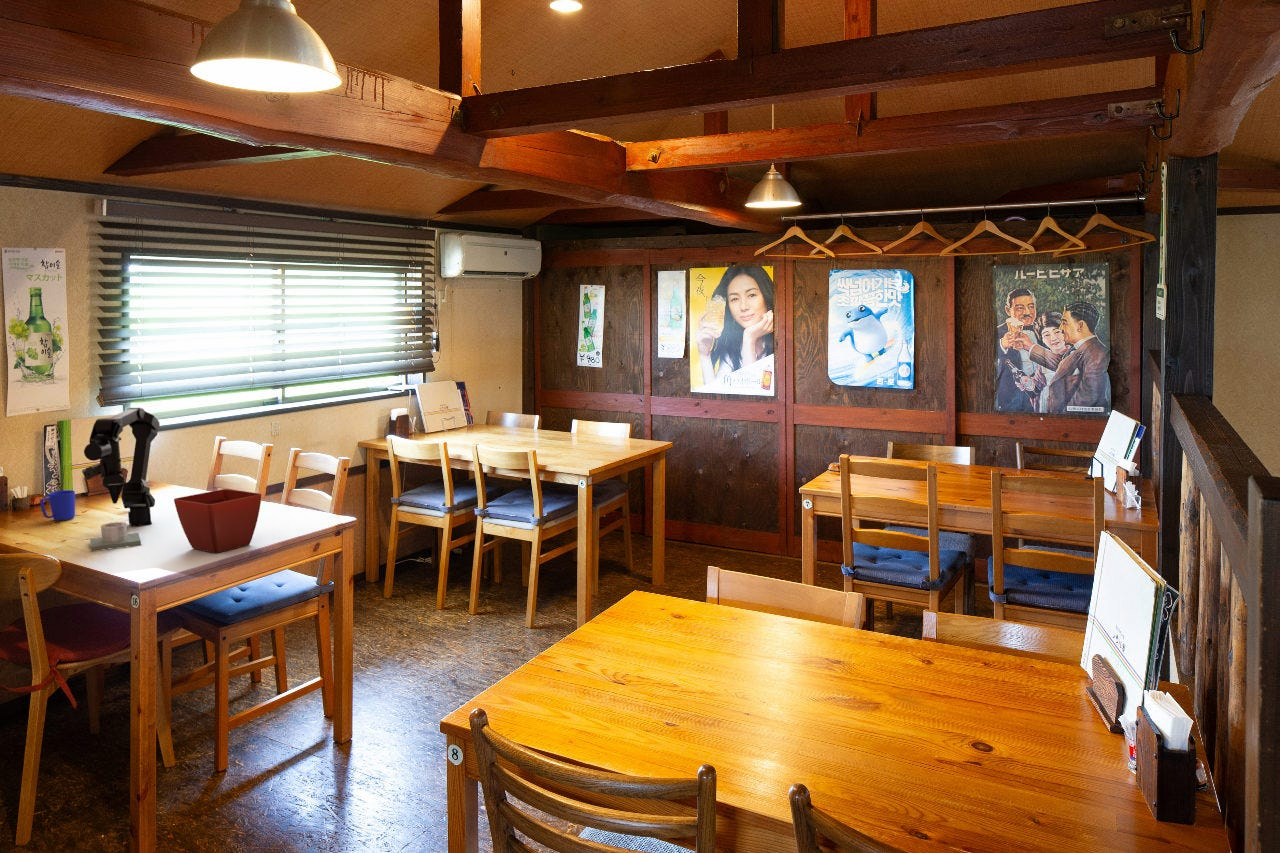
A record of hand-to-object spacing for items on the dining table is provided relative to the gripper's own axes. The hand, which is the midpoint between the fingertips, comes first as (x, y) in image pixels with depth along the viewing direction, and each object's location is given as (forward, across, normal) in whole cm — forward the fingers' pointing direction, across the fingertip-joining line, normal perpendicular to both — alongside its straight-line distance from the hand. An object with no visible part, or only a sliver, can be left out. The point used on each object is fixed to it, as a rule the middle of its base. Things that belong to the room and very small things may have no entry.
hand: (114, 500), depth 308 cm
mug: (+12, -37, -17) cm, 43 cm away
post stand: (+12, +13, -1) cm, 18 cm away
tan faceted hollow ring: (+10, +13, -1) cm, 17 cm away
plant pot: (+12, +36, +28) cm, 47 cm away
